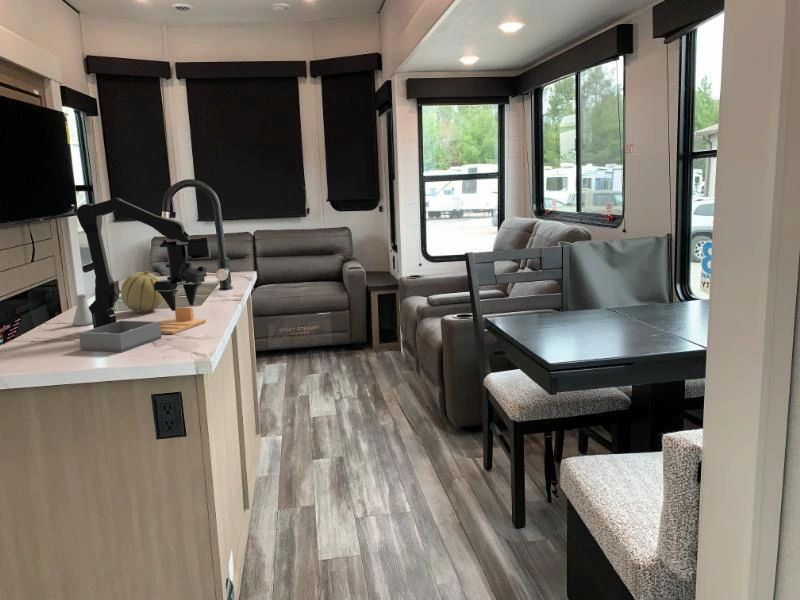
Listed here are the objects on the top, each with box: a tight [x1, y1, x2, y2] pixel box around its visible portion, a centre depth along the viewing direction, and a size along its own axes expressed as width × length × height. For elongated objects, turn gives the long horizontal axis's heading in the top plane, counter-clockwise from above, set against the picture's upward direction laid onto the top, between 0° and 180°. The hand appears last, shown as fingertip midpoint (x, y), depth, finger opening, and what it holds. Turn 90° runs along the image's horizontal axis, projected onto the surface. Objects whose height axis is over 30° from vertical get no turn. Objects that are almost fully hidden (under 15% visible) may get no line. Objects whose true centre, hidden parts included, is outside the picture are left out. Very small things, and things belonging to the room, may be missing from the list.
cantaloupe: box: [120, 270, 164, 313], centre depth 229 cm, size 15×15×15 cm
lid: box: [158, 306, 207, 335], centre depth 200 cm, size 15×17×5 cm
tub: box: [78, 320, 162, 353], centre depth 180 cm, size 14×16×5 cm
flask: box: [71, 293, 93, 327], centre depth 212 cm, size 7×7×10 cm
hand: (182, 308), depth 206 cm, fingers open, 9 cm apart
